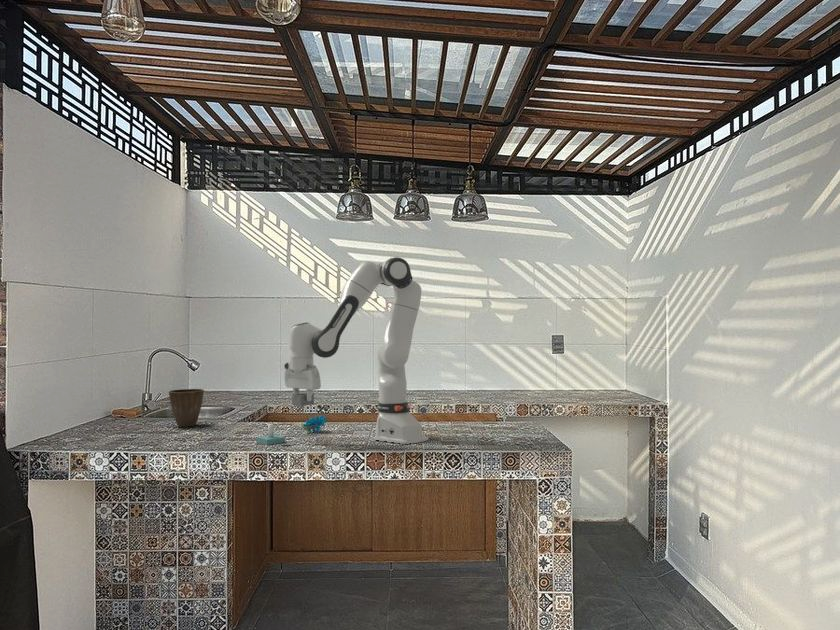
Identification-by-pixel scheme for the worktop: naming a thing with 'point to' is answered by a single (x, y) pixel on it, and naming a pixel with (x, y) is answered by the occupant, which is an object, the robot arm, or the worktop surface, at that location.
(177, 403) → the plant pot
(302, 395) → the collar
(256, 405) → the worktop surface
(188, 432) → the worktop surface
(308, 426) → the blue toy dinosaur
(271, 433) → the shaft block
